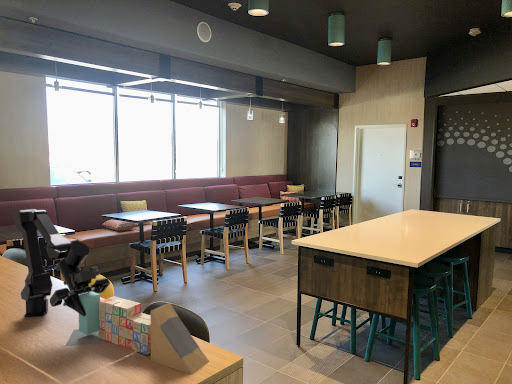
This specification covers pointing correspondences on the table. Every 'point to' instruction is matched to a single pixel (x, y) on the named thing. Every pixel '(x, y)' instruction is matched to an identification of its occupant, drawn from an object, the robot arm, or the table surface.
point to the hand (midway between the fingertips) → (92, 313)
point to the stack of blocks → (125, 324)
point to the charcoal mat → (84, 338)
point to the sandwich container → (174, 342)
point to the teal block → (89, 313)
